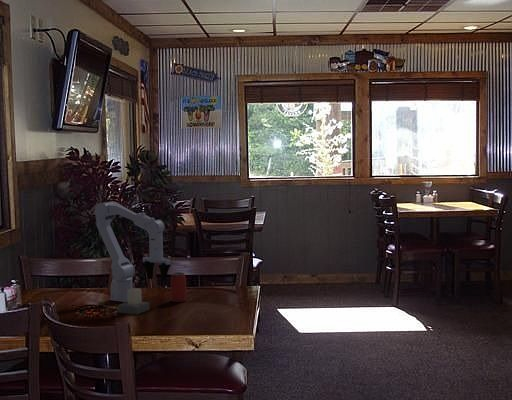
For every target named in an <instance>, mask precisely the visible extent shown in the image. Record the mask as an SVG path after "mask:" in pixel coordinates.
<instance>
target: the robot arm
mask: <svg viewBox="0 0 512 400" xmlns="http://www.w3.org/2000/svg"><path fill="white" fill-rule="evenodd" d="M93 213H94V215H95V226H96V228H97V230H98V232H99V234H100V237H101V239H102V242H103V243H104V246H105V248H106V250H107V252H108V256H110V259H111V261H112V263H111V265H110V269H111V275H112V278H113V280H112V281H111V283H110V298H109V300H110V301H113V302H114V301H115V302H122V303H126V302H128V297H127V289H132V288H133V276H134V275H135V274H136V269H135V266H134V265H133V264H132V263H131V262H130V259H128V258H127V257H126V256H125V254H124V252H123V251H122V249H121V246H120V244H119V242H118V240H117V238H116V236H115V233H114V231H113V228H112V226H111V223H112V221H113V219H115V217H116V216H117V215H118V216H121V217H124V218H126V219H128V220H130V221H132V222H133V225H135V226H137V227H139V228H141V229H143V230H145V231H146V232H147V234H148V240H149V245H148V246H149V249H148V250H149V256H145V257H142V262H143V263H142V267H143V268H144V270H145V273H146V276H147V278H148V280H152V279H153V278H154V266H155V264H158V268H159V273H160V280H161V282H165V281H166V280H167V276H168V273H169V270H170V268H171V265H172V263H171V259H168V258H164V245H163V243H164V242H163V241H164V239H163V237H164V236H163V232H164V231H165V228H166V227H165V226H166V225H165V223H164V221H162V220H161V219H156V220H155V218H154V217H150V216H148V215H146V212H138V213H136V212H134V211H133V210H131V209H128V208H127V207H125V206H123V205H122V204H120V203H118V202H116V201H108V202H107V201H106V202H99V203H97V204H96V206H95V208H94V210H93Z"/></svg>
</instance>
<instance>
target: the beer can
mask: <svg viewBox="0 0 512 400" xmlns="http://www.w3.org/2000/svg"><path fill="white" fill-rule="evenodd" d="M186 300H187V277H186V275H185V273H184V272H173V273H171V276H170V301H171V302H173V303H184V302H186Z"/></svg>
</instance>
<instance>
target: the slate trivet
mask: <svg viewBox="0 0 512 400" xmlns="http://www.w3.org/2000/svg"><path fill="white" fill-rule="evenodd" d="M150 305H151V304H150V302H148V301H142V303H141V304H137V305H130V304H128V301H127V302H123V303H121V304H118V305H117V309H118V313H119V314H129V315H139V314H142V313H144V312H147V311H150V308H151V307H150Z"/></svg>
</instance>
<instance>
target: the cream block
mask: <svg viewBox="0 0 512 400" xmlns="http://www.w3.org/2000/svg"><path fill="white" fill-rule="evenodd" d="M127 297H128V301H127V302H128V304H130V305H137V304H141V303H142V302H143V298H142V297H143V296H142V288H138V287H132V289H127Z"/></svg>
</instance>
